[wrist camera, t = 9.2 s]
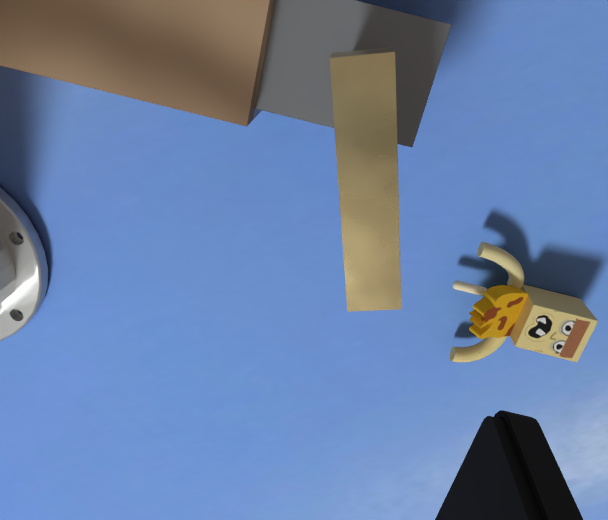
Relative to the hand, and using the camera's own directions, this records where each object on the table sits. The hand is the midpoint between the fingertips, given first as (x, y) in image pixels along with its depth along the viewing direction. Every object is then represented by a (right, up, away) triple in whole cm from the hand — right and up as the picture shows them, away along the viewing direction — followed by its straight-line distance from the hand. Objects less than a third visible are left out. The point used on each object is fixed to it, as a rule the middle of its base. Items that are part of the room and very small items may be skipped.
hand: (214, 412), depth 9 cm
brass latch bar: (+4, +7, +14) cm, 16 cm away
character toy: (+14, +1, +24) cm, 27 cm away
